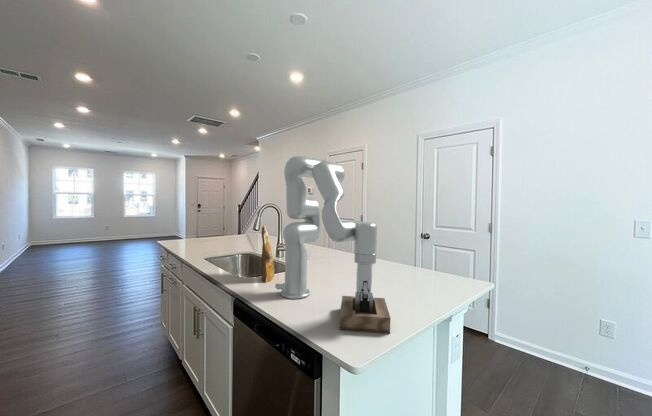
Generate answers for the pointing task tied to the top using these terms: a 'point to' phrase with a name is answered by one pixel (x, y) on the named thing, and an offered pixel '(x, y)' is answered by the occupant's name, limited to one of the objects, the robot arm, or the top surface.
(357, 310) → the tall blue-grey block
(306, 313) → the top surface
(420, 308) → the top surface
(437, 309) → the top surface
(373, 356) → the top surface
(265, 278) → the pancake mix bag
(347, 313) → the walnut well
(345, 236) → the robot arm
